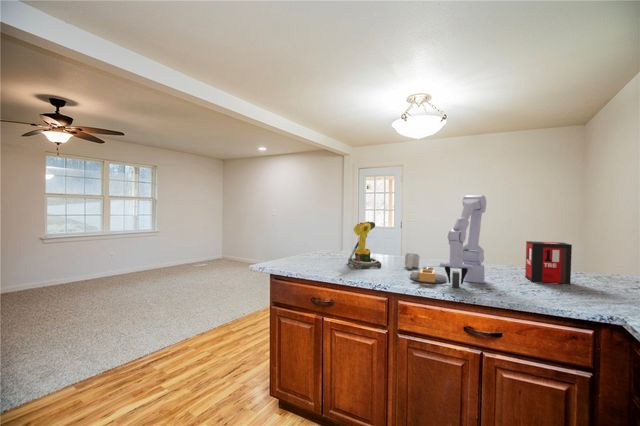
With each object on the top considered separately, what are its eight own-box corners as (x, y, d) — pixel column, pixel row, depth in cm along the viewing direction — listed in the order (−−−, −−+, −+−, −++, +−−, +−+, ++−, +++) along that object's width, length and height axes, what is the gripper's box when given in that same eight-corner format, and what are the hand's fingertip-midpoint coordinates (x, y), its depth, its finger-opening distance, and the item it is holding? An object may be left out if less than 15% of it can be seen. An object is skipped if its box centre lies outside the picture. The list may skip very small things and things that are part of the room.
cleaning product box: (531, 282, 154) (532, 243, 153) (525, 278, 162) (526, 241, 162) (570, 285, 149) (571, 244, 148) (561, 280, 157) (563, 242, 157)
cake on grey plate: (446, 276, 164) (446, 265, 163) (446, 285, 147) (446, 272, 147) (411, 273, 171) (412, 263, 170) (408, 281, 154) (408, 269, 154)
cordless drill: (384, 268, 185) (385, 223, 185) (354, 269, 182) (355, 223, 181) (373, 262, 204) (374, 221, 203) (346, 263, 200) (346, 221, 199)
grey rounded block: (402, 268, 181) (403, 251, 183) (405, 269, 190) (406, 253, 192) (415, 270, 178) (416, 253, 179) (418, 270, 187) (419, 254, 188)
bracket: (434, 277, 155) (435, 270, 155) (434, 282, 147) (434, 273, 147) (412, 275, 159) (412, 268, 159) (410, 279, 151) (411, 271, 151)
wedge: (458, 285, 146) (459, 271, 146) (459, 288, 142) (459, 273, 142) (452, 285, 147) (452, 271, 147) (452, 287, 143) (452, 272, 143)
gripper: (439, 255, 143) (439, 283, 144) (474, 257, 138) (473, 287, 138) (440, 253, 150) (439, 280, 150) (472, 255, 144) (472, 283, 145)
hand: (455, 283), depth 145 cm, fingers open, 5 cm apart
